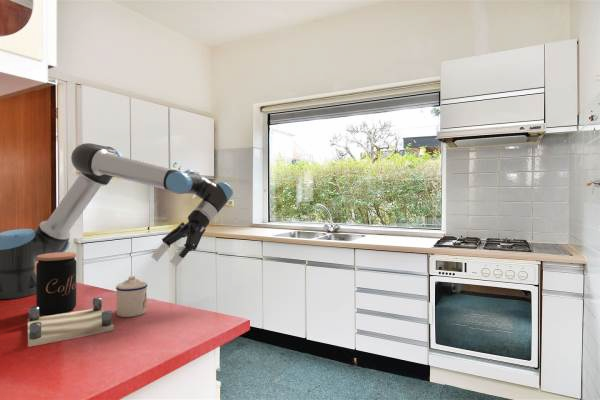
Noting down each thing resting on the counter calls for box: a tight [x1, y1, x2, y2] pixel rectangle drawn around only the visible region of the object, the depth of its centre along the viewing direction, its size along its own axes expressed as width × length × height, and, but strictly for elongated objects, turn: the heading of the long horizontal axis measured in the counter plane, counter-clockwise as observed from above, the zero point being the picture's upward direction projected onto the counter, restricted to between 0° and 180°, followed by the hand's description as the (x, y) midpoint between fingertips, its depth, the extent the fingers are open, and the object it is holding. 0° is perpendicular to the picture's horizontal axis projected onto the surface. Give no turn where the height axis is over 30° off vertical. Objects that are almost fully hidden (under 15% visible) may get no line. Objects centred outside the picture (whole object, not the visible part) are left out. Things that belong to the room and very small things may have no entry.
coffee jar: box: [35, 251, 77, 316], centre depth 117 cm, size 11×11×18 cm
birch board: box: [27, 307, 115, 348], centre depth 103 cm, size 19×19×2 cm
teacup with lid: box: [115, 275, 148, 318], centre depth 117 cm, size 12×9×12 cm
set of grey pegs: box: [28, 296, 112, 340], centre depth 103 cm, size 18×18×4 cm
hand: (163, 261), depth 125 cm, fingers open, 13 cm apart
